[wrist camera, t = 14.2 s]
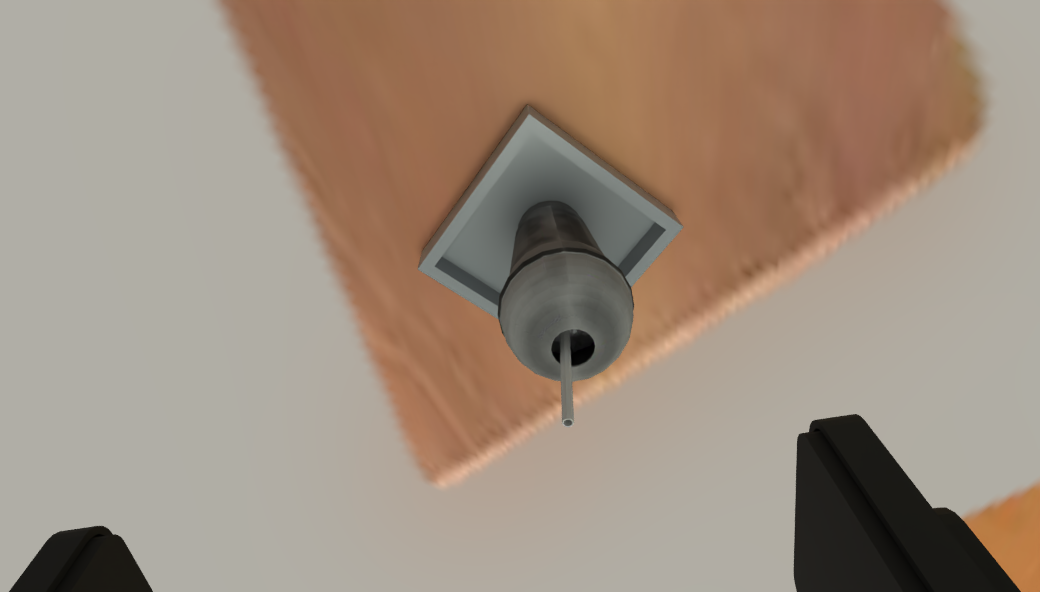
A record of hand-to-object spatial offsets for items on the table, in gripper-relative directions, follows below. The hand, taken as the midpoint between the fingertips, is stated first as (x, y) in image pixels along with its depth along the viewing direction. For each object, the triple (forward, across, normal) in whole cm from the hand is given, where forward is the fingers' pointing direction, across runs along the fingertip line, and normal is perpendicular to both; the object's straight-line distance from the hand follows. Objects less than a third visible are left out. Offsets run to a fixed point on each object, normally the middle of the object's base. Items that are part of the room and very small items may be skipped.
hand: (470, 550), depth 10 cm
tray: (+38, -2, +11) cm, 40 cm away
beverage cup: (+37, -2, +11) cm, 39 cm away
